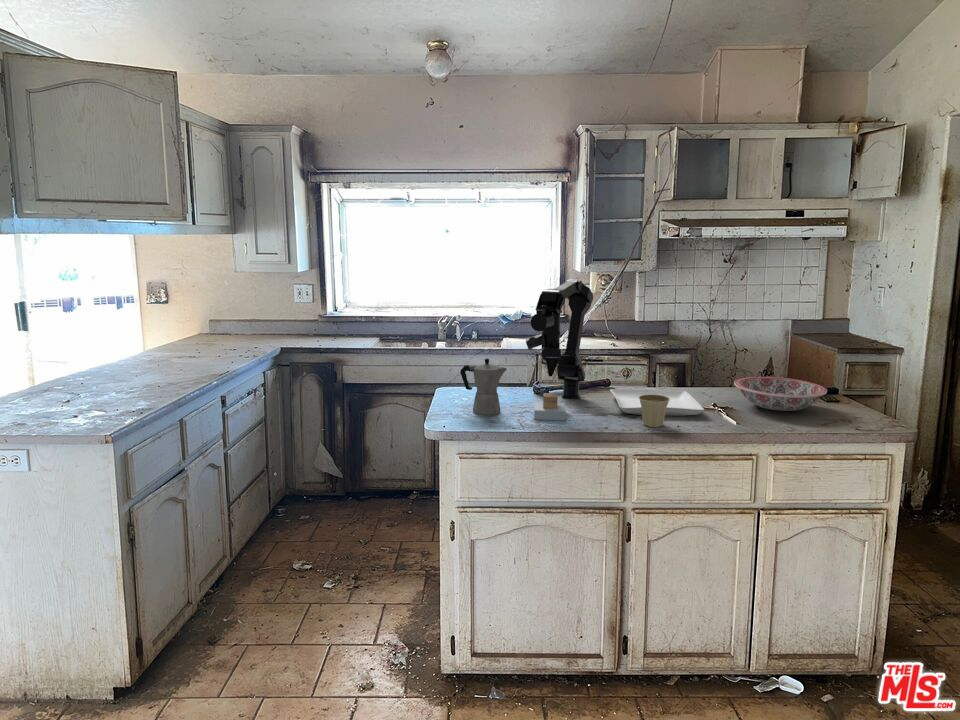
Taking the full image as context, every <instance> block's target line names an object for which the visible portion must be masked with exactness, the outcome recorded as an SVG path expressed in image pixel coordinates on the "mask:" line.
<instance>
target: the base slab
mask: <svg viewBox="0 0 960 720" xmlns="http://www.w3.org/2000/svg"><path fill="white" fill-rule="evenodd" d="M566 409H567V408H566V403H563V402H560V403H559V402H557V409H546V408H543V402H534V411H533V413H534V415H533V416H534V417H533V420H536V421H537V420H539V421H542V420H544V421H545V420H546V421H567V419H566V417H567V410H566Z"/></svg>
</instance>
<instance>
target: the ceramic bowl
mask: <svg viewBox="0 0 960 720" xmlns="http://www.w3.org/2000/svg"><path fill="white" fill-rule="evenodd" d="M734 386H735V387H736V388H737V389H739V390H740V392H741V394H742V396H743V397H744V398H745V399H747V401H748V402H750V403H751V404H753V405H755V406H757V407H759V408H763V409H767V410H770V411H771V410H772V411H782V412H789V411H790V412H793V411H799V410H804V409H806V408H809V407H810V406H812V405H813V404H814V403H815V402H817V401H818V400H819V398H820V397H821V396H824V395H826V394H827V392H828V389H827V388H826V387H824V386H823V385H821V384H817V383H815V382H811V381H806V380H802V379H801V380H800V379H796V378H789V377H776V376H747V377H742V378H738V379H735V380H734Z"/></svg>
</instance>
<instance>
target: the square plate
mask: <svg viewBox="0 0 960 720" xmlns="http://www.w3.org/2000/svg"><path fill="white" fill-rule="evenodd" d="M609 391H610V393H611V394H612V395H613V396H614V397H615V400H616V402H617V405H618V407H619V408H620V409H621V410H622V411H623V413H626V414H630V415H631V414H632V415H640V416H642V409H641V403H640V399H639V396H641V395H650V394H651V395H662V396H666V397H668V398H670V401H668V405H667V408H666V413H665V416H670V417H671V416H676V417H677V416H679V417H681V416H683V417H685V416H696V415H700V414H701V413H702V412H704V411H705V408H704V407H703V406H702V405H701V404H700V403H699V402H698V401H697V400H696V399H695V398H694V397H693V396H692V395H691V394H689V392H688V391H685V390H672V389H653V388H649V389H648V388H612V389H611V388H610V390H609Z"/></svg>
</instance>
